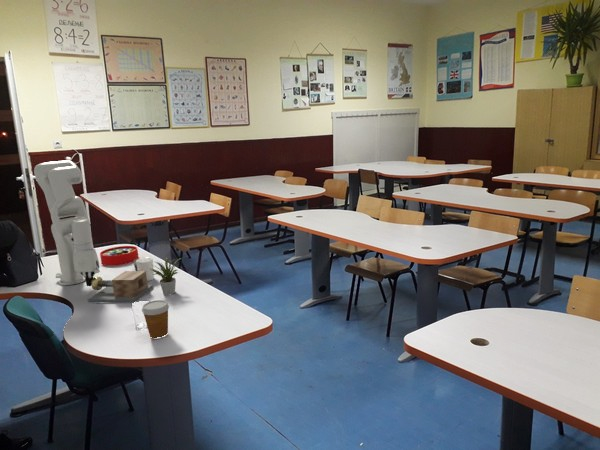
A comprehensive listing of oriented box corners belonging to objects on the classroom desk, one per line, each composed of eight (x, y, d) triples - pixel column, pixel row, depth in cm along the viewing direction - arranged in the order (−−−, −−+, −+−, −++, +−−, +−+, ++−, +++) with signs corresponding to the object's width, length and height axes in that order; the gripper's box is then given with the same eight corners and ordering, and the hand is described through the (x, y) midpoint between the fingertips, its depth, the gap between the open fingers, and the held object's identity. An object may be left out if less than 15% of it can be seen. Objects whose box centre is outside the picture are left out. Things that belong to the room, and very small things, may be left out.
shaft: (92, 292, 220) (90, 279, 219) (100, 287, 226) (98, 275, 225) (129, 292, 218) (127, 279, 216) (136, 287, 223) (134, 275, 222)
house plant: (176, 284, 232) (172, 251, 228) (192, 290, 222) (188, 256, 218) (149, 293, 222) (144, 258, 218) (164, 300, 212) (160, 264, 209)
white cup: (158, 278, 242) (155, 259, 240) (143, 283, 236) (141, 263, 234) (149, 275, 247) (147, 256, 245) (135, 279, 242) (132, 260, 239)
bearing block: (114, 296, 216) (111, 279, 214) (127, 287, 227) (125, 271, 226) (135, 296, 214) (133, 279, 212) (147, 287, 226) (145, 270, 224)
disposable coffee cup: (140, 338, 177) (135, 307, 174) (159, 327, 185) (155, 298, 182) (158, 343, 172) (154, 311, 169) (178, 332, 180) (174, 302, 177)
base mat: (88, 302, 215) (87, 299, 215) (109, 287, 232) (109, 284, 232) (134, 302, 212) (134, 299, 211) (153, 287, 229) (152, 284, 228)
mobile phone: (142, 264, 251) (137, 256, 264) (136, 265, 250) (131, 257, 263) (143, 273, 252) (138, 265, 265) (137, 274, 251) (133, 266, 264)
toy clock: (143, 249, 275) (108, 258, 262) (144, 259, 276) (109, 268, 263) (128, 244, 290) (94, 251, 277) (129, 253, 291) (96, 261, 278)
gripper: (63, 249, 217) (70, 288, 221) (94, 248, 214) (100, 288, 218) (74, 244, 224) (80, 282, 228) (103, 244, 221) (109, 282, 225)
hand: (90, 285), depth 223 cm, fingers closed
